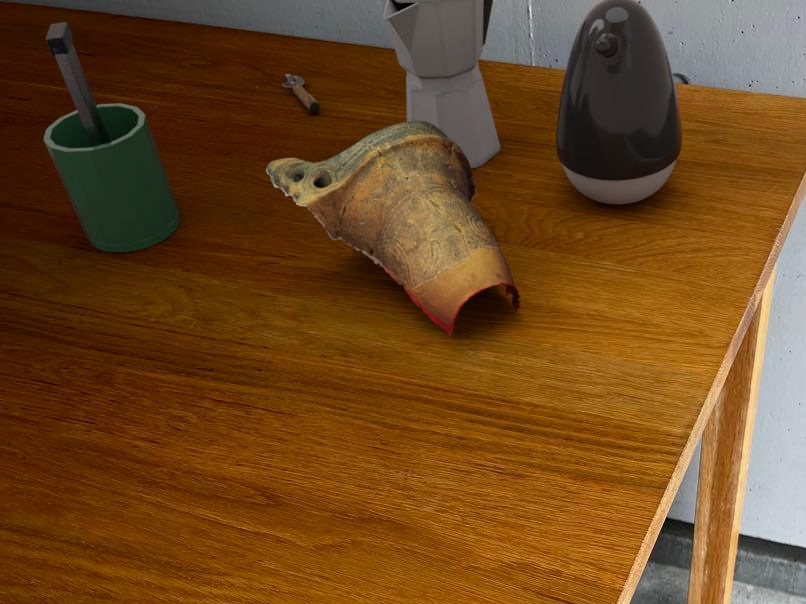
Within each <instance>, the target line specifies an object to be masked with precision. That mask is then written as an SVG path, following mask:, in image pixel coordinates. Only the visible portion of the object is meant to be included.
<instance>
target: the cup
mask: <svg viewBox="0 0 806 604" xmlns="http://www.w3.org/2000/svg"><path fill="white" fill-rule="evenodd" d="M96 105H97V107H98V110H99V113H100V115H101V118H102V120H103V123H104V125H105V128H106V130H107V133H108V136H109V138H110V141H111V143H107V144H103V145H99V146H95V147H92V145H91V143H90V140H89V138H88V135H87V133H86V131H85V128H84V126H83V123H82V121H81V118H80V116H79V113H78V111H77V109H75V110H74V111H72V112H69V113H67V114H65V115H63V116H61V117H59V118H57V119H56V120H54V122H53V123H52V124H51V125H49V126H48V127H47V128H46V130H45V133H44V136H43V142H44V144H45V146H46V149H47V152H48V154H49V155H50V158H51V160H52V163H53V164H54V168H55V169H56V173H58V176H59V178H60V180H61V183H62V185H63V187H64V190H65V192H66V194H67V196H68V199H69V201H70V203H71V205H72V207H73V210H74V212H75V215H76V217H77V219H78V221H79V224H80V226H81V228H82V231H83V233H84V234H85V235H86V237H87V239H88V242H89V243H90V244H91V245H92V246H93V247H94V248H95V249H98V250H99V249H100V250H99V251H102V252H106V253H112V252H115V253H114V254H117V253H116V252H119V253H118V254H120V253H121V252H124V253H132V252H136V251H140V250H145V249H147V248H151V247H153V246H155V245H157V244H160V243H161V242H163V241H164V240H166V239H168V238H169V237H171V236H172V234H174V233H175V231H177V229H178V228H179V226H180V223H181V214H180V211H179V205H178V202H177V200H176V197H175V194H174V191H173V188H172V186H171V182H170V179H169V177H168V174H167V172H166V168H165V166H164V163H163V160H162V157H161V155H160V152H159V149H158V146H157V143H156V141H155V138H154V135H153V132H152V130H151V127H150V124H149V121H148V118H147V116H146V114H145V113H144V112H143V111H142V110H141V109H140V108H139V107H138V106H136V105H135V106H134V105H130V104H126V103H120V102H119V103H117V102H116V103H100V104H96ZM131 251H132V252H131Z"/></svg>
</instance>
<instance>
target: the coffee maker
mask: <svg viewBox="0 0 806 604" xmlns="http://www.w3.org/2000/svg"><path fill="white" fill-rule="evenodd" d="M379 1H380V5H381V8H382V11H383V16H382V19H383V20H385V21H386V25H387V29H388V31H389V34H390V38H391V41H392V45H393V48H394V51H395V54H396V58H397V62H398V64H399V66H400V67H401V68H402V69H404V70H406V76H405V82H406V83H405V85H406V87H405V88H406V122H408V121H426V122H428V123H431V124H433V125H435V126H436V127H437V128H439V129H440V130H441V131H442V132H443V133H445V134H446V135H447V136H448V138H450V139H451V140H452V141H454V142H455V143H456V144H457V145H458V146H459V147H460V148H461V150H462V151H463V153H464V154H465V155H466V157H467V159H468V161H469V164H470V167H471V169H475V168H480V167H483V165H485V164H486V163H487V162H488V161H489V160H490V159H492V158H493V157H494V156H495V155H497V154H498V153H499V152H500V151H501V150H502V148H501V144H500V140H499V136H498V132H497V128H496V125H495V120H494V116H493V113H492V109H491V106H490V101H489V98H488V93H487V90H486V87H485V82H484V79H483V75H482V73H481V70H480V67H479V59H480V57H481V56H482V53H483V49H484V46H485V44H486V40H487V35H488V30H489V24H490V18H491V14H492V8H493V3H494V0H379Z"/></svg>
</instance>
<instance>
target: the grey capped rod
mask: <svg viewBox="0 0 806 604" xmlns="http://www.w3.org/2000/svg"><path fill="white" fill-rule="evenodd" d="M73 40H74V36H73V33H72V32H71V29H70V26H69V24H68V22H67V21H64V22H56V23H50V26H49V29H48V32H47V35H46V38H45V41H46V45H47V47H48V49H49V52H50V55H51V56H52V57H55V60H56V61H57V64H58V67H59V69H60V72H61V74H62V77H63V78H64V82H65V83H66V86H67V88H68V91H69V93H70V96H71V98H72V101H73V103H74V106H75V108H76V110H77V111H78V113H79V116H80V118H81V121H82V123H83V126H84V128H85V131H86V133H87V135H88V138H89V140H90V143H91V145H92V147H95V146H99V145H103V144H107V143H111V141H110V138H109V136H108V133H107V130H106V128H105V125H104V123H103V120H102V118H101V115H100V113H99V110H98V107H97V105H98V104H97V103H96V100H95V98H94V95H93V93H92V90H91V87H90V84H89V82H88V79H87V77H86V75H85V71H84V69H83V67H82V64H81V62H80V59H79V57H78V54H77V51H76V49H75V46H74V44H73Z"/></svg>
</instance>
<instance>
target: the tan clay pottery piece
mask: <svg viewBox="0 0 806 604" xmlns="http://www.w3.org/2000/svg"><path fill="white" fill-rule="evenodd" d="M265 173H266V174H267V175H269V176H270V181H271V183H272V186H273V187H274V188H278V189H280V190H282V192H283V193H284V195H285V197H288V196H291V197H292V200H293V202H294V203H295V205H297V206H300V207H303V208H306V207H307V209H308V210H309V211H310V212H311V213H312V214H313V215H314V219H317V221H318V222H319V223H320V224H321V225H322V228H325V230H326V233H327V234H328V236H329V238H331V240H333V241H334V242H335V241H338V240H340V241H341V240H342V241H343V242H345V243H346V244H347V245H348V246H350V247H352V248H353V249H355V250H356V252H361V253H362V254H363V255H365V256H367V257H368V258H369V259H370V260H372V261H373V264H376V265H378V264H379V267H382V268H383V269H384V271H385V272H386V273H388V274H389V275H390V277H391V278H392V279H394V281H395V282H396V283H397V284H398V285H399V286H400V287H402V286H403V288H404V290H405V293H406V294H408V296H409V297H410V300H411V301H412V302H413V303H414V304H415V305H416V307H417V308H420V309H421V311H422V312H423V313H424V314H426V315H427V316H428V318H430V320H431V321H432V322H434V324H435V325H437V326H439V327H441V328H442V329H443V330H444V331H446V334H447V335H448V336H449V337H450V338H452V333H453V330H454V329H455V321H456V319H457V316H458V314H459V312H460V310H461V309H462V307H464V304H465V303H466V302H467V301H468V300H469V299H471V298H473V297H475V296H476V295H477V294H479V293H480V292H482V291H484V290H486V289H487V290H488V288H492V287H496V286H505V296H509V295H511V306H512V307H513V309H514V312H515V314H517V313H518V311H519V309H520V308H521V305H520V304H521V301H522V300H520V299H521V295H520V294H519V293H520V291H519V290H518V289H517V288H518V287H516V285H515V280H514V277H513V273H512V271H511V267H510V266H509V263H508V261H507V258H506V256H505V254H504V252H503V250H502V249H501V247H500V245H499V243H498V241H497V239H496V237H495V236H494V234H493V232H492V231H491V229H490V228H489V226H488V225H487V224H486V222H485V220H484V218H482V216H481V215H480V214H479V212H477V210H476V208H475V207H474V206H473V205H472V201H473V200H474V198H475V195H476V194H477V187H476V184H475V182H474V176H475V175H474V173H473V171H472V168H471V167H470V164H469V161H468V159H467V157H466V155H465V154H464V153H463V151H462V150H461V148H460V147H459V146H458V145H457V144H456V143H455V142H454V141H452V140H451V139H450V138H448V136H447V135H446V134H445V133H443V132H442V131H441V130H440V129H439V128H437V127H436V126H435V125H433V124H431V123H428V122H426V121H408V122H407V121H403V122H399V123H396V124H392V125H389V126H386V127H383V128H381V129H379V130H377V131H374V132H372V133H370V134H368V135H366V136H365V137H363V138H362V139H360V140H359V141H358V142H356V143H354V144H353V145H352V146H350V147H348V148H347V149H344V150H342V151H341V152H339V153H338V154H336V155H335V154H334V155H333V156H332V157H329V158H328V159H325V160H323V161H318V162H311V161H307V160H304V159H300V158H296V157H286V158H280V159H275V160H273V161H270V163H268V165H267V166H266V170H265Z"/></svg>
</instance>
